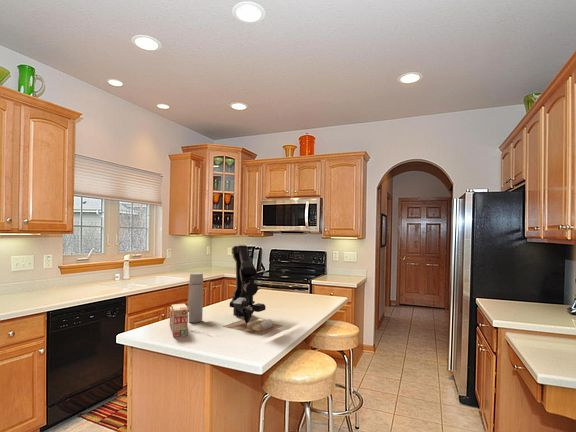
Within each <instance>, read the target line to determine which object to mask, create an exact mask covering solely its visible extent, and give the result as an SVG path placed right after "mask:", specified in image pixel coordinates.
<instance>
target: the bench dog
mask: <svg viewBox="0 0 576 432" xmlns="http://www.w3.org/2000/svg"><path fill="white" fill-rule="evenodd" d="M266 320H267V321H264V322H261V330H262V331H264V330H267V329H269V328H272V324H273V319H266Z"/></svg>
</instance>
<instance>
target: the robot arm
mask: <svg viewBox="0 0 576 432" xmlns="http://www.w3.org/2000/svg"><path fill="white" fill-rule="evenodd" d="M231 254H232V258H233V260H234V262H235V287H236V288H235V290H234V292H233V294H232V298H231V301H229V308H233V312H232V313H233V316H235V317H243V319H244V320H245V323H248V322H249V320H250V319H251V318H252V316H253V314H254V313H255V312H256V313H260V312H263V311H266V304H265V303H259V302H258V303H256V302H255V301H254V296H255V295H256V294H257V293H258V290H259V287H258V285H257V284H256V283H255V282H257V281H258V279H259V277H258V276H259V275H258V271H257V268H256V267H255V265H254V263H253V262H251V260H250V255H249V247H248V245H245V244H244V245H243V244H241V245H240V244H239V245H234V246H233V247H232V248H231Z"/></svg>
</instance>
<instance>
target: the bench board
mask: <svg viewBox="0 0 576 432" xmlns="http://www.w3.org/2000/svg"><path fill="white" fill-rule="evenodd" d="M255 320H256V319H255ZM255 320H254V319H251V318H250V320H249V322H252V321H255ZM249 322H248V323H249ZM282 327H284V325H281V324H277V323H272V328H269V329H267V330H264V331H262V330H260V331H256V330H252V329H247V323H245V320H244V318H243V319H241V320H238V321H233V322H232V323H228V324H225V325H222V328H226V329H233V330H235V331H241V332H247V333H251V334H254V335H260V336H263V335H266V334H268V333H271V332H273V331H275V330H277V329H280V328H282Z"/></svg>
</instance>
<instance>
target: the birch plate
mask: <svg viewBox="0 0 576 432" xmlns="http://www.w3.org/2000/svg"><path fill="white" fill-rule="evenodd" d="M267 320H268V319H265V318H264V319H262V318H259V319H255V321H252V322H249V323H247V329H252V330H256V331H260V330H261V322H264V321H267Z"/></svg>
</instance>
